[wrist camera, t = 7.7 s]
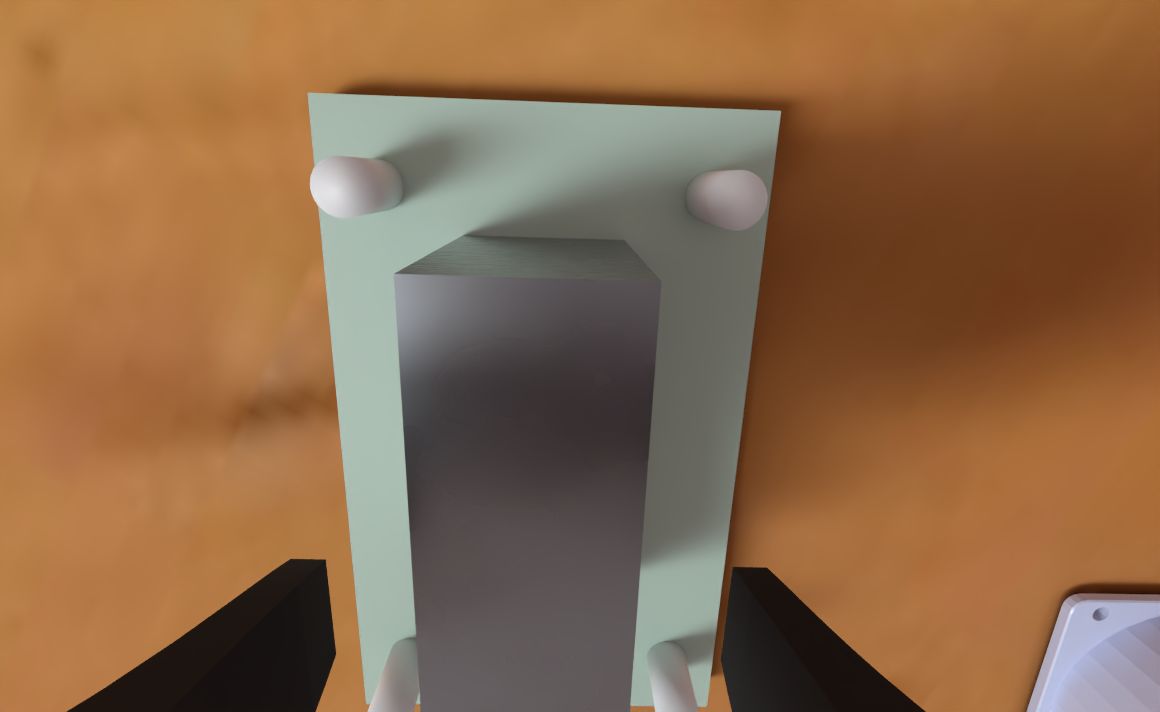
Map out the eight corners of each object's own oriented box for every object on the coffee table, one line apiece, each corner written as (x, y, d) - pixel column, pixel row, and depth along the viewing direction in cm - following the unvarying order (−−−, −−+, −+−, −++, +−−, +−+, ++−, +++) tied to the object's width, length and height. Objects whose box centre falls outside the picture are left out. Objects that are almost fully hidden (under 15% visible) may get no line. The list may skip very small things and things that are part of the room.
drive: (626, 240, 14) (664, 281, 9) (607, 578, 17) (627, 774, 12) (461, 235, 14) (390, 273, 9) (470, 576, 17) (422, 774, 12)
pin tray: (767, 115, 15) (826, 96, 11) (700, 681, 20) (726, 782, 17) (324, 98, 14) (250, 74, 11) (376, 678, 20) (336, 780, 16)
